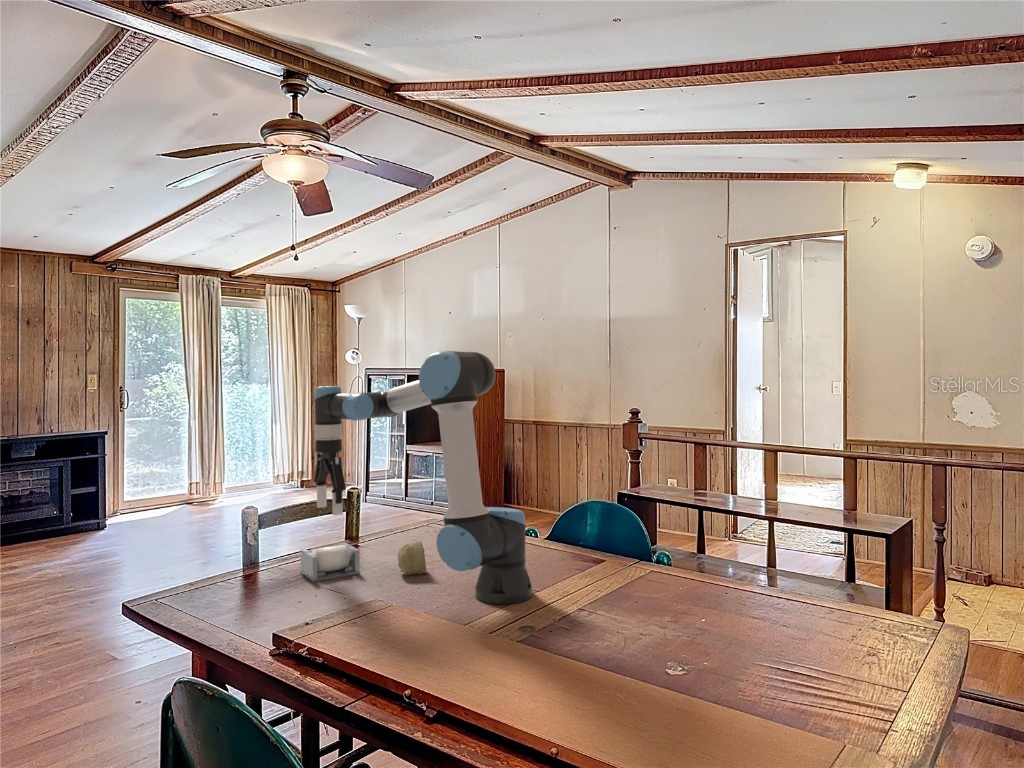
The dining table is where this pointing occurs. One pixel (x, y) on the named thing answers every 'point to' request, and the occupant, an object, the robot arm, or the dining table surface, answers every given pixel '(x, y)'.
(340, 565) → the roll
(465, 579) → the dining table surface
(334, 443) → the robot arm
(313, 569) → the cradle
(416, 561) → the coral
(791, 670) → the dining table surface
